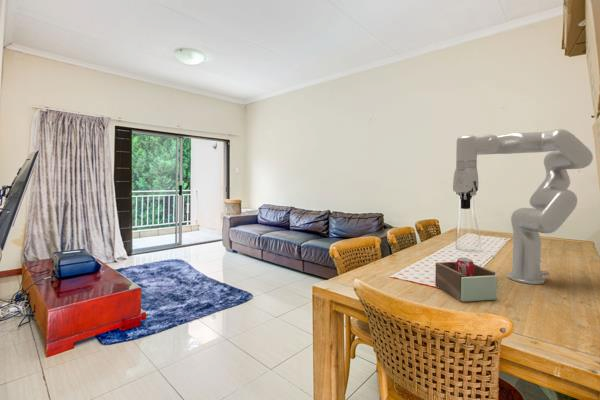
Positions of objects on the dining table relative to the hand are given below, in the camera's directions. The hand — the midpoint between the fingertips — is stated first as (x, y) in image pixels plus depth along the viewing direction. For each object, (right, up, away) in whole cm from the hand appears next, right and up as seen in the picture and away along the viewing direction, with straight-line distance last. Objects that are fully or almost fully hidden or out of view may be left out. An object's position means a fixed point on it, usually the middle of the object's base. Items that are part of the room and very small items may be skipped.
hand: (465, 208), depth 120 cm
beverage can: (-6, -32, -9) cm, 34 cm away
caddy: (-6, -33, -9) cm, 35 cm away
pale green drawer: (-6, -33, -9) cm, 35 cm away
